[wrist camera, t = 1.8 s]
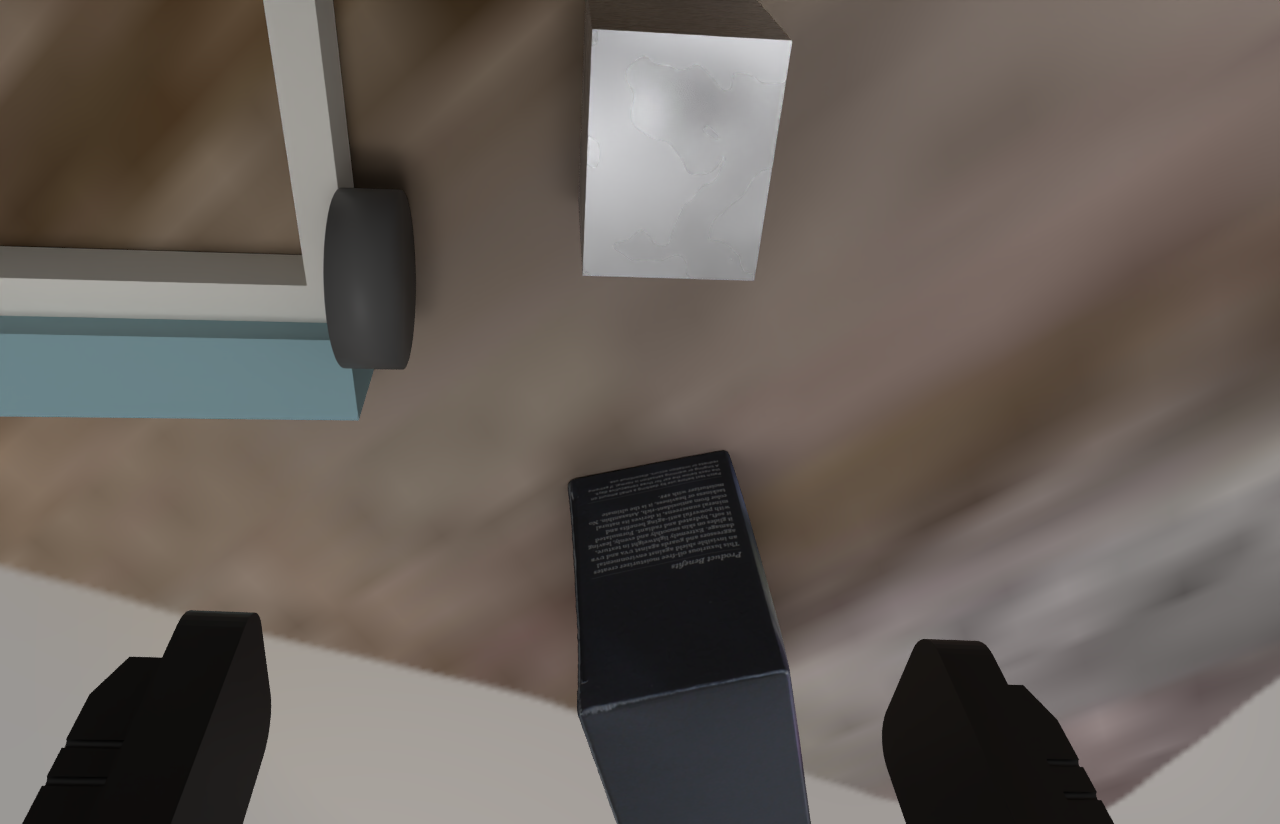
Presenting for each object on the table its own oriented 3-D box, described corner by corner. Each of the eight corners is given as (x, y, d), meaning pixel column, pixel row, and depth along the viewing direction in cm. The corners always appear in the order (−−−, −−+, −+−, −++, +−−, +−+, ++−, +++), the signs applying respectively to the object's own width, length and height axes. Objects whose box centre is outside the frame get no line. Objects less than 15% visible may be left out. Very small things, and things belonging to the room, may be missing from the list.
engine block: (585, -15, 24) (592, 29, 20) (752, -5, 25) (791, 40, 21) (578, 200, 28) (582, 275, 23) (724, 206, 28) (754, 280, 24)
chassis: (-483, -538, 17) (-801, -633, 13) (361, -447, 19) (309, -507, 15) (-82, 359, 29) (-187, 457, 25) (423, 368, 30) (403, 461, 26)
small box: (766, 633, 39) (826, 872, 31) (619, 661, 40) (637, 905, 31) (736, 443, 33) (800, 676, 25) (562, 477, 34) (566, 719, 25)
